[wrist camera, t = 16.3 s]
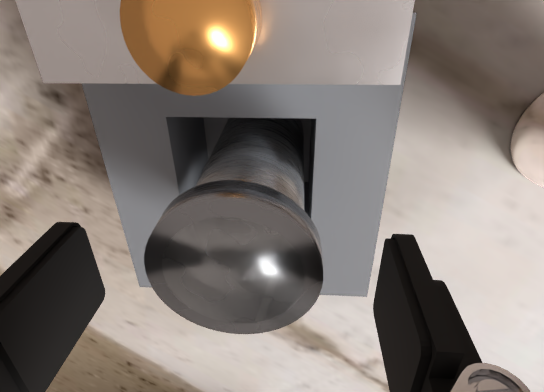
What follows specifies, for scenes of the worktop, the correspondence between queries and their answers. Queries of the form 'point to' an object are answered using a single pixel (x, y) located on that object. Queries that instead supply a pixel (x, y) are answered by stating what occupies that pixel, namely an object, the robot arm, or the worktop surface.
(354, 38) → the bar
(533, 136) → the beer glass
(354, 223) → the block
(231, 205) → the grey capped cylinder
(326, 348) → the worktop surface
